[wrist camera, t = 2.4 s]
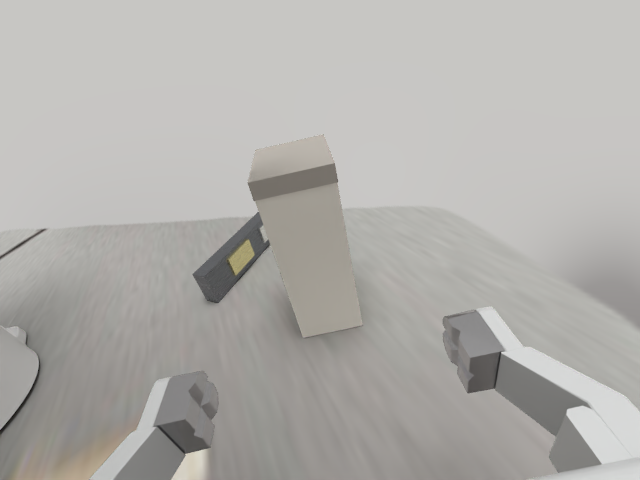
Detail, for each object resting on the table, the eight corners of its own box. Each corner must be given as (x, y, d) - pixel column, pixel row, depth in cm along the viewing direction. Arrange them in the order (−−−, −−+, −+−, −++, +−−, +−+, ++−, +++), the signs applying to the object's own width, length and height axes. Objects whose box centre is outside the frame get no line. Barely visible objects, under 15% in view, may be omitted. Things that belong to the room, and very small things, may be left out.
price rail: (287, 225, 41) (280, 202, 39) (219, 303, 31) (205, 276, 29) (276, 224, 42) (268, 201, 40) (207, 300, 32) (192, 274, 30)
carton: (302, 338, 26) (247, 182, 18) (299, 287, 31) (255, 149, 23) (363, 325, 26) (334, 163, 18) (350, 276, 31) (323, 134, 23)
